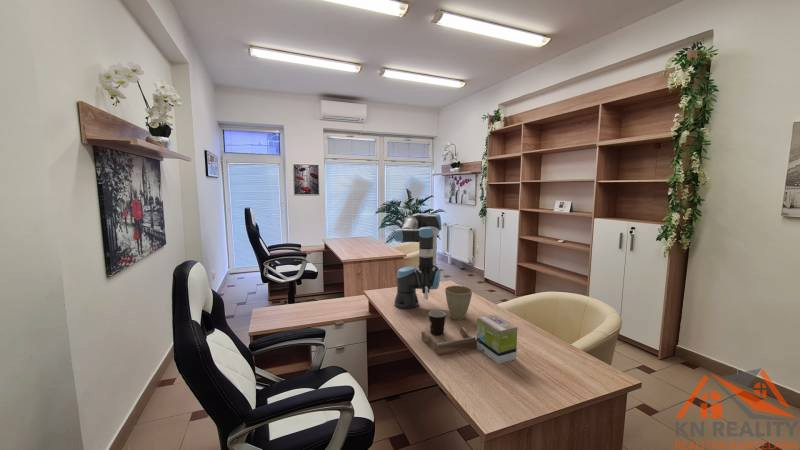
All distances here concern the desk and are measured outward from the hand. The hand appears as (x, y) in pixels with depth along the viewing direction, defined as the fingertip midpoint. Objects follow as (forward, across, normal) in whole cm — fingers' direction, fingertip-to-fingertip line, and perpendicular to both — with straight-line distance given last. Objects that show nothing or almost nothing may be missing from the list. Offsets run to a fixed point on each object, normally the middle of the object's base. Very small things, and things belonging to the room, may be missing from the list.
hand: (425, 298), depth 173 cm
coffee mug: (+13, 0, -15) cm, 19 cm away
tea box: (+13, +15, -43) cm, 47 cm away
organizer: (+13, 0, -28) cm, 30 cm away
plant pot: (+13, +19, -2) cm, 23 cm away
